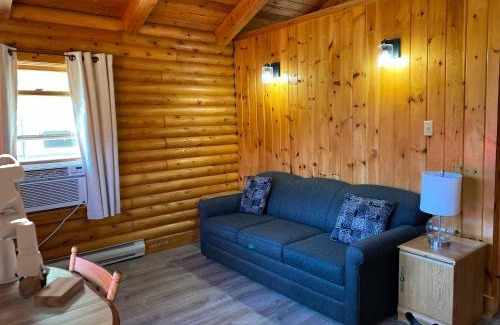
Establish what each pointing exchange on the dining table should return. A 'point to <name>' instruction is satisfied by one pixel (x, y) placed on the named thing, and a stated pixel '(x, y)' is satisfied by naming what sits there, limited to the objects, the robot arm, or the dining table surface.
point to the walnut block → (58, 292)
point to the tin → (29, 286)
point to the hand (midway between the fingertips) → (33, 287)
